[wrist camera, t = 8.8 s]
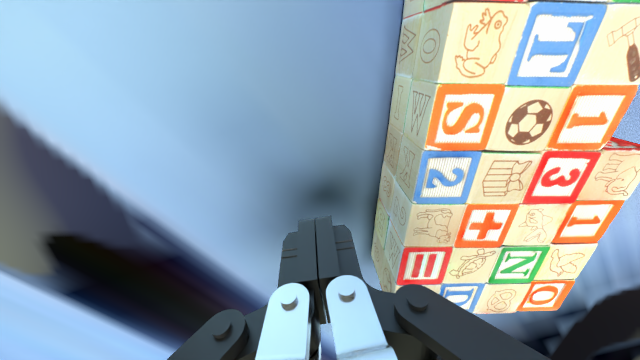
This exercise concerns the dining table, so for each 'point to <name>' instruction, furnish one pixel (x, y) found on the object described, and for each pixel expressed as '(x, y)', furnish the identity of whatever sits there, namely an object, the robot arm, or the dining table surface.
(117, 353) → the dining table surface
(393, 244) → the stack of blocks
